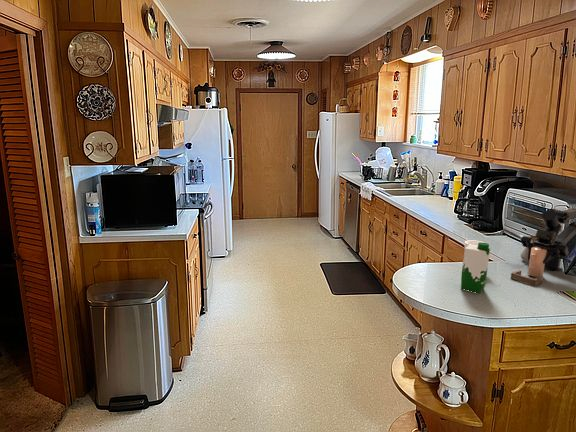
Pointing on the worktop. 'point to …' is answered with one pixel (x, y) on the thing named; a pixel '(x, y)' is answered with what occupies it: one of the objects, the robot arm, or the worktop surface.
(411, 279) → the worktop surface
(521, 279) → the jug cradle
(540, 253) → the jug
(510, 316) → the worktop surface
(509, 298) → the worktop surface
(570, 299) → the worktop surface
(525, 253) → the coffee pot
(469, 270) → the milk carton
